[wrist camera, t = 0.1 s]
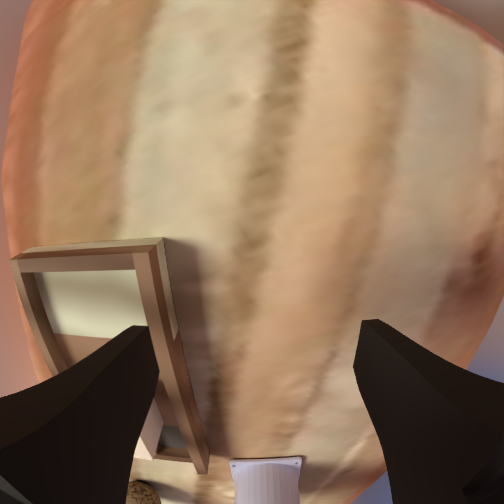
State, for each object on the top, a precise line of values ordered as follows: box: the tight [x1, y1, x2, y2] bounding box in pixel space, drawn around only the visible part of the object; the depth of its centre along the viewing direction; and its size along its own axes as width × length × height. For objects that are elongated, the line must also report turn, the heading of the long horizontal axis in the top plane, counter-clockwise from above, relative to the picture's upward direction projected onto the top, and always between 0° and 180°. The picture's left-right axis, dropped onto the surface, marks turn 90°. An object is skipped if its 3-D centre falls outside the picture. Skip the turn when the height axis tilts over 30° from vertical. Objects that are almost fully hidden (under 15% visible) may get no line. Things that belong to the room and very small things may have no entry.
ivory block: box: [134, 398, 164, 460], centre depth 19 cm, size 6×6×4 cm
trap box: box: [9, 237, 210, 475], centre depth 21 cm, size 24×12×3 cm, turn 3°
